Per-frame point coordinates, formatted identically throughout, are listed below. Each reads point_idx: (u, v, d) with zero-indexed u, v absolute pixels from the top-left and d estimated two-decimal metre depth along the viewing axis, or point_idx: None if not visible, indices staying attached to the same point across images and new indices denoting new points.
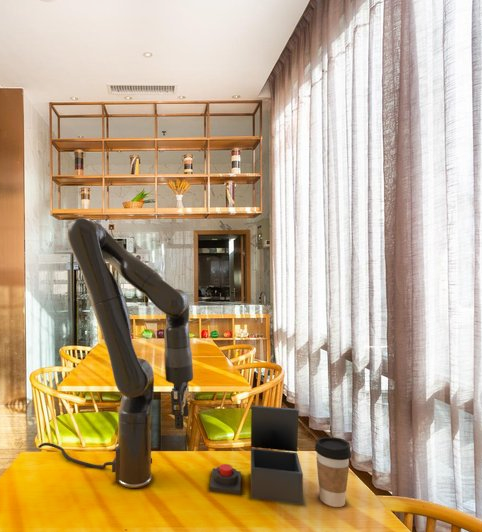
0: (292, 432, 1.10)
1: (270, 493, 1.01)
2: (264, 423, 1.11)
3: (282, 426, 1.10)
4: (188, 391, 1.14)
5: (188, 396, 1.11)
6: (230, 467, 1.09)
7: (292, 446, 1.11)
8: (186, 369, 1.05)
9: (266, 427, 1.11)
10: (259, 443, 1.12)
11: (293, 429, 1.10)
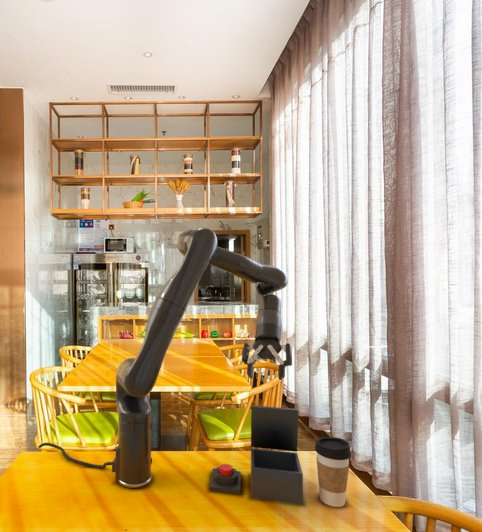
0: (292, 432, 1.10)
1: (270, 493, 1.01)
2: (264, 423, 1.11)
3: (282, 426, 1.10)
4: (246, 358, 1.22)
5: (258, 360, 1.20)
6: (230, 467, 1.09)
7: (292, 446, 1.11)
8: None
9: (266, 427, 1.11)
10: (259, 443, 1.12)
11: (293, 429, 1.10)
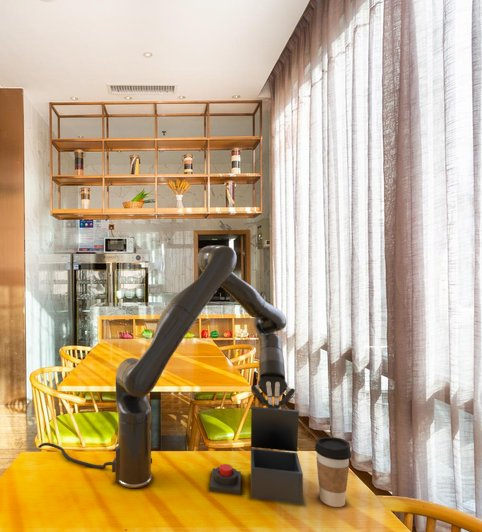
0: (292, 433, 1.10)
1: (270, 493, 1.01)
2: (264, 424, 1.11)
3: (282, 427, 1.10)
4: (260, 400, 1.17)
5: None
6: (230, 467, 1.09)
7: (292, 446, 1.10)
8: None
9: (266, 428, 1.11)
10: (259, 443, 1.12)
11: (293, 430, 1.09)
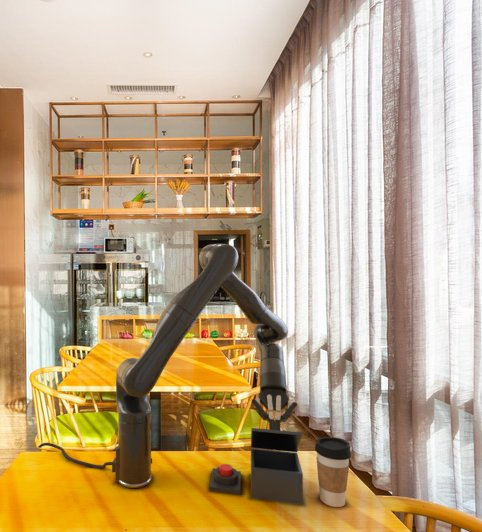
0: (293, 444, 1.07)
1: (270, 493, 1.01)
2: (265, 438, 1.07)
3: (283, 441, 1.06)
4: (261, 414, 1.12)
5: None
6: (230, 467, 1.09)
7: (292, 450, 1.10)
8: None
9: (267, 440, 1.08)
10: (259, 446, 1.12)
11: (294, 443, 1.06)
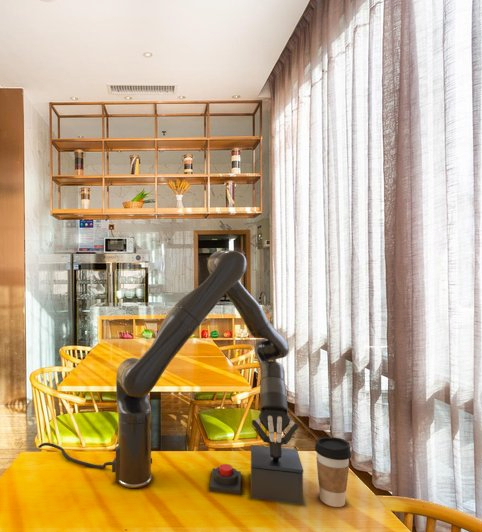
0: None
1: (270, 493, 1.01)
2: None
3: None
4: (261, 436, 1.09)
5: None
6: (230, 467, 1.09)
7: None
8: None
9: None
10: None
11: None
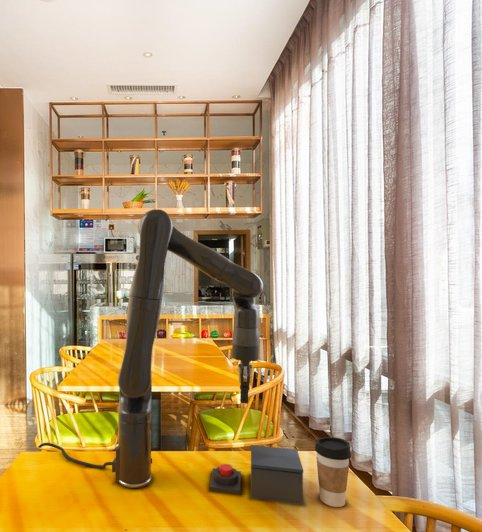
0: None
1: (270, 493, 1.01)
2: None
3: None
4: None
5: None
6: (230, 467, 1.09)
7: None
8: (255, 348, 1.11)
9: None
10: None
11: None
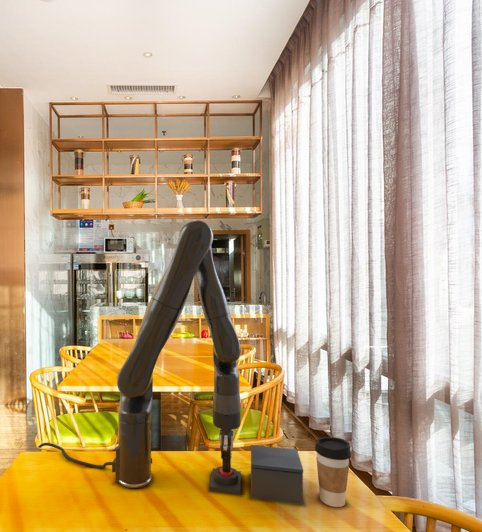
0: None
1: (270, 493, 1.01)
2: None
3: None
4: None
5: None
6: (230, 471, 1.09)
7: None
8: (235, 416, 1.06)
9: None
10: None
11: None
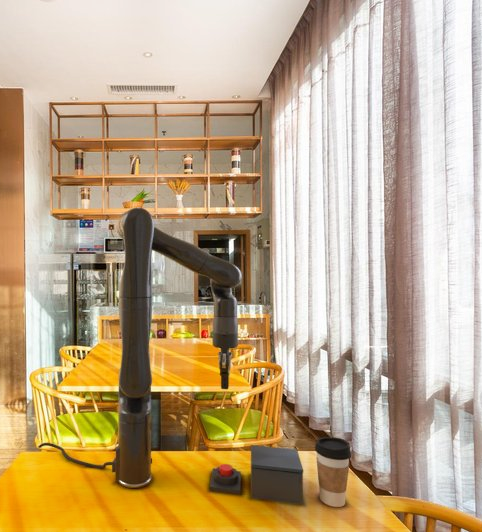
0: None
1: (270, 493, 1.01)
2: None
3: None
4: None
5: None
6: (230, 467, 1.09)
7: None
8: (233, 336, 1.16)
9: None
10: None
11: None
